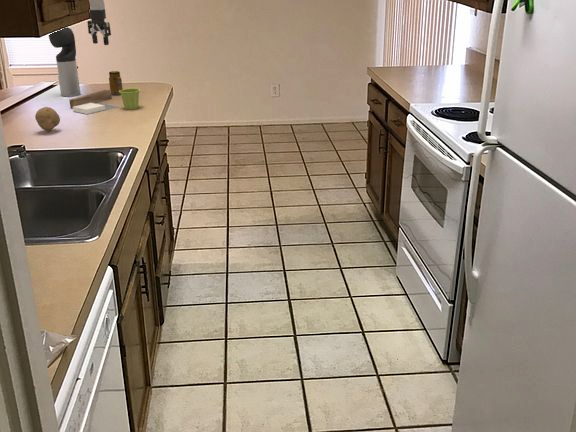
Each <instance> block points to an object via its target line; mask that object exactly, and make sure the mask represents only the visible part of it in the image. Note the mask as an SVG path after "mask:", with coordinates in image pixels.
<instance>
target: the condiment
mask: <svg viewBox="0 0 576 432" xmlns="http://www.w3.org/2000/svg"><path fill="white" fill-rule="evenodd" d="M108 75H109V77H108V81H109V89H110V90H111V96H121V94H120V92H119V91H120V90H123V89H124V88H123V83H122V82H123V81H122V77H121V72H120V71H118V70H114V71H113V70H112V71H109V73H108Z"/></svg>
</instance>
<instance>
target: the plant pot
mask: <svg viewBox="0 0 576 432" xmlns="http://www.w3.org/2000/svg"><path fill="white" fill-rule="evenodd" d="M140 91H141V89H140V88H132V87H131V88H123V90H120V91H119V92H120V94H121V95H120V96H121V99H122V103H123V107H124V109H125V110H137V109H138V108H139V105H140V104H139V101H140V100H139V99H140V97H139V95H140ZM136 108H137V109H136Z"/></svg>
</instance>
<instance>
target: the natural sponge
mask: <svg viewBox="0 0 576 432" xmlns="http://www.w3.org/2000/svg"><path fill="white" fill-rule="evenodd" d="M35 120H36V122H37V125H38V126H39V127H40V128H41V130H43V131H45V132H46V133H47V132H48V133H49V132H51V131H53V130H54V129H55V127H57V126H59V124H60V122H61V117H60V115H59V113H58V112H57V111H56V109H54V108H52V107H48V106H43V107H42V108H39V109H38V110H37V111H36V113H35Z"/></svg>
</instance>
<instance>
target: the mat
mask: <svg viewBox="0 0 576 432" xmlns="http://www.w3.org/2000/svg"><path fill="white" fill-rule="evenodd" d="M99 104H100V105H105V110H102V111H98V112H94V113H91V114H97V113H102V112H105V111H111V110H115V109H119V108H120V106H116V105H111V104H106V103H102V102H100V103H99Z"/></svg>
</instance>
